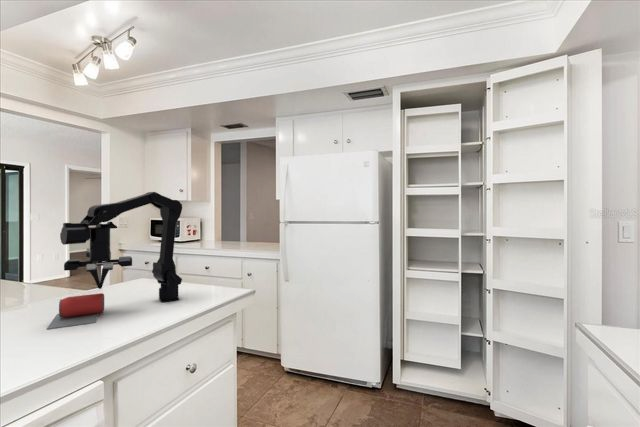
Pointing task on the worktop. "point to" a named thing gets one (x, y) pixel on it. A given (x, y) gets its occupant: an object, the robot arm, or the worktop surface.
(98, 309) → the beer can
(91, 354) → the worktop surface
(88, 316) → the mat
